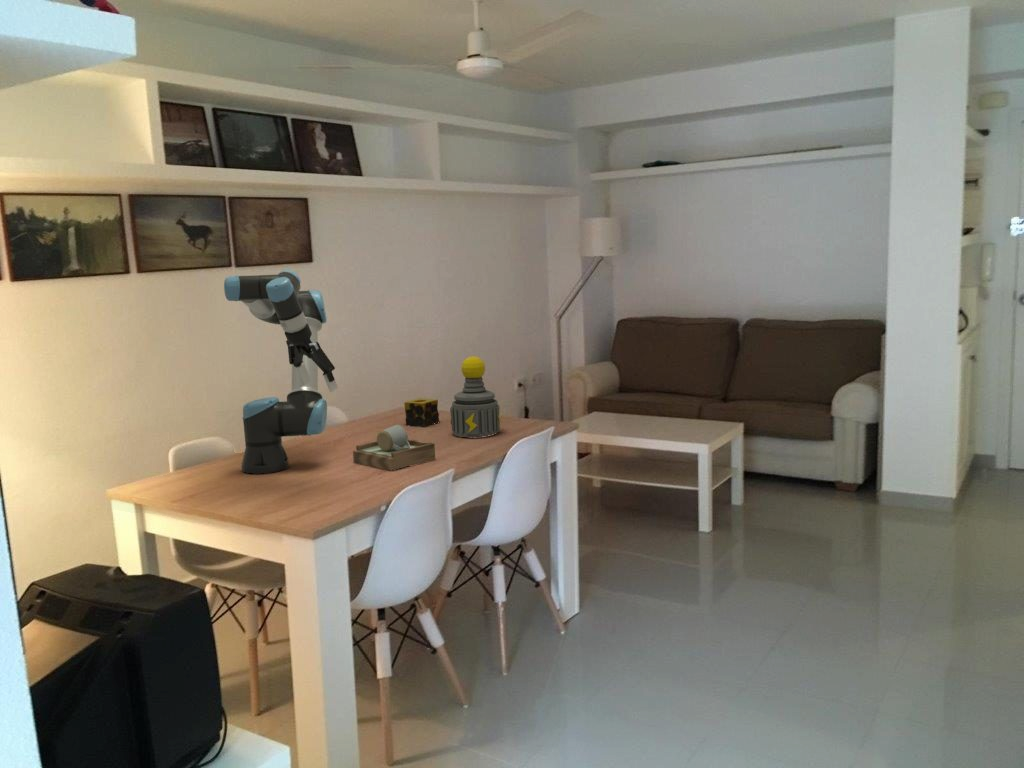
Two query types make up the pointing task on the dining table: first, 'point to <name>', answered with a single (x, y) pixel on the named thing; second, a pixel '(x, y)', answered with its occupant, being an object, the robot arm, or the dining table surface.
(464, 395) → the decorative lamp
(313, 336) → the robot arm
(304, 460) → the dining table surface
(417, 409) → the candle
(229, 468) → the dining table surface
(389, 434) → the ceramic mug
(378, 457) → the walnut tray
